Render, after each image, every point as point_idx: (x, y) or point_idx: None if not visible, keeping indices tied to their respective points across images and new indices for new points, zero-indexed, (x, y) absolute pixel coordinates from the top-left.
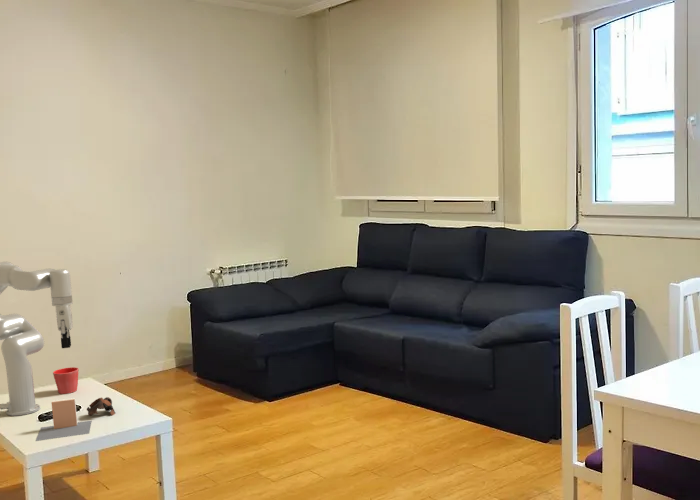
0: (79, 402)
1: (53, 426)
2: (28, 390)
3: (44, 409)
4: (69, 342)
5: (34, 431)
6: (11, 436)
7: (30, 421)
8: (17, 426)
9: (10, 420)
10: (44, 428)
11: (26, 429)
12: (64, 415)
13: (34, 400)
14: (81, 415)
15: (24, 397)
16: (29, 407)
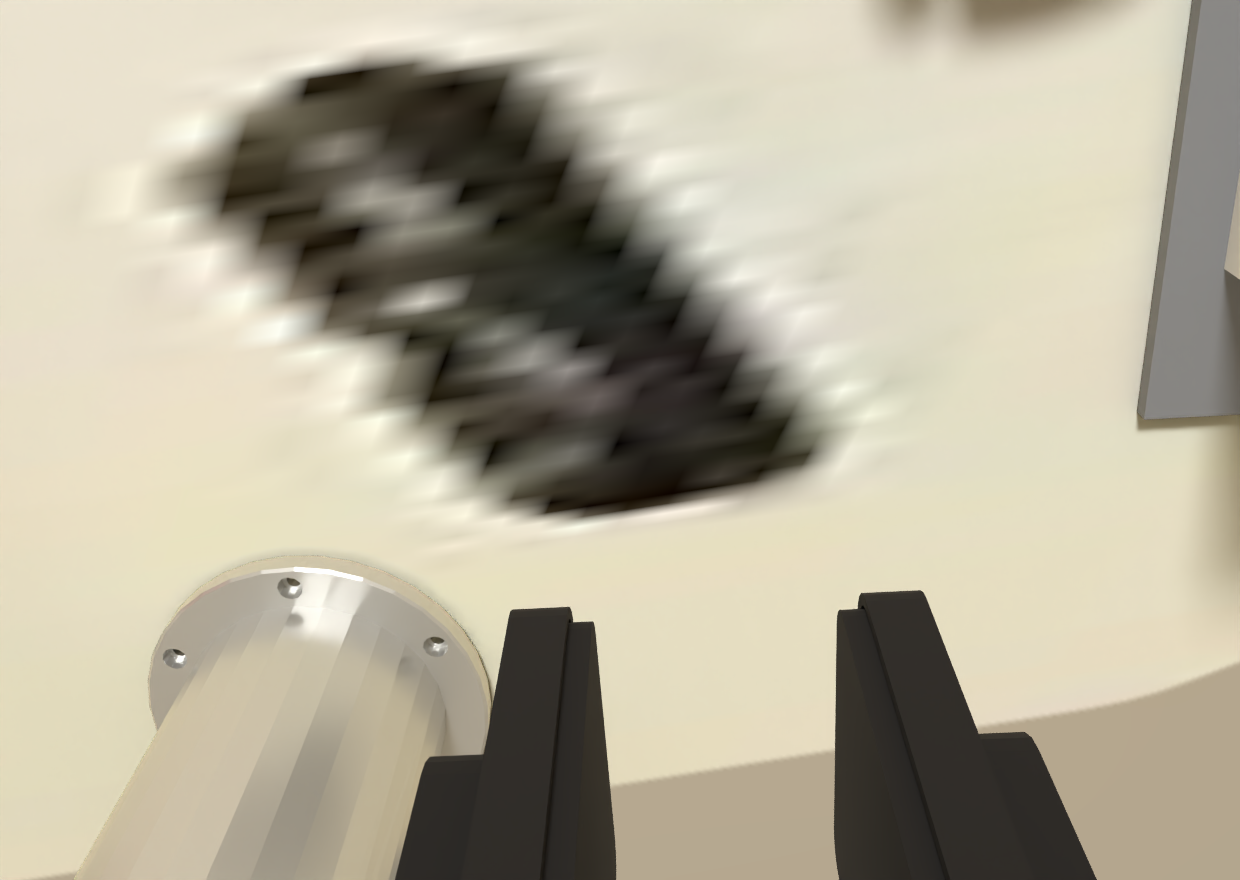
0: (113, 125)
1: (1191, 286)
2: (347, 796)
3: (321, 503)
4: (980, 744)
5: (1184, 464)
6: (1222, 644)
7: (760, 565)
8: None
9: (627, 746)
10: (1210, 375)
11: (1053, 553)
12: None
13: (298, 657)
14: (789, 2)
15: (404, 779)
16: (401, 660)
